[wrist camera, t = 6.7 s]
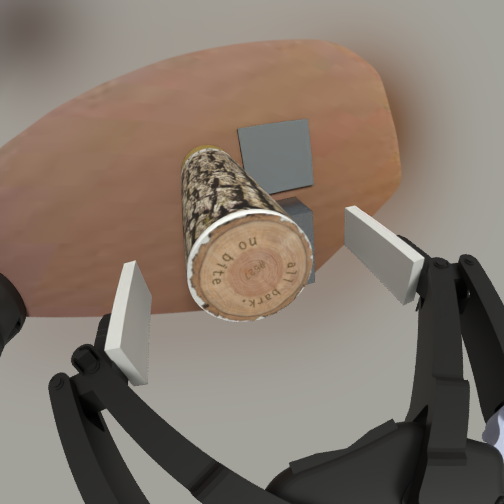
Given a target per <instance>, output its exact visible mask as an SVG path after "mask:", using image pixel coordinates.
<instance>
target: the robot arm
mask: <svg viewBox="0 0 504 504" xmlns="http://www.w3.org/2000/svg"><path fill="white" fill-rule="evenodd" d="M344 245H345V246H346V247H347V248H348V249H349V250H350V251H351V252H352V253H353V254H354V255H355V256H356V257H357V258H358V259H359V260H360V261H361V262H362V263H363V264H364V265H365V266H366V267H367V268H368V269H369V270H370V271H371V272H372V273H373V274H374V275H375V276H376V277H377V278H378V279H379V280H380V281H381V282H382V283H383V284H384V285H385V286H386V287H387V289H389V291H390V292H391V293H392V294H393V295H394V296H395V297H396V298H397V299H398V300H399V301H400V302H401V303H402V304H403V305H405V304H407V303H409V302H411V301H413V300H414V297H415V293H416V292H417V293H418V294H419V295H420V298H419V301H418V304H417V307H416V311H417V310H418V308H419V314H418V340H417V354H416V365H415V375H414V383H413V390H412V397H411V403H410V408H409V411H408V414H407V416H406V418H405V421H404V422H399V423H395V422H394V420H393V419H391V420H389V421H387V422H385V423H384V424H382V425H380V426H378V427H376V428H374V429H372V430H370V431H369V432H367V433H366V434H365V435H364V436H363V437H361V438H360V439H359V440H357V441H356V442H355V443H354V444H352V445H351V446H350V447H348V448H346V449H341V450H336V451H330V452H323V453H317V454H314V455H311V456H308V457H305V458H302V459H299V460H296V461H293V462H290V463H289V465H290V467H289V468H287V469H285V470H284V471H282V472H281V473H280V474H278V475H277V476H276V477H275V478H274V479H273V480H272V481H271V482H270V483H269V485H268V486H267V488H266V489H265V490H264V489H262V488H260V487H258V486H256V485H255V484H253V483H251V482H250V481H248V480H246V479H244V478H243V477H241V476H240V475H238V474H236V473H234V472H233V471H232V470H230V469H228V468H227V467H225V466H224V465H222V464H221V463H219V462H217V461H216V460H214V459H213V458H211V457H210V456H209V455H207V454H206V453H205V452H203V451H202V450H200V449H199V448H198V447H196V446H195V445H194V444H193V443H191V442H190V441H188V440H187V439H186V438H185V437H184V436H182V435H181V434H180V433H179V432H177V431H176V430H175V429H174V428H173V427H171V426H170V425H169V424H168V423H167V422H166V421H165V420H163V419H162V418H161V417H160V416H159V415H158V414H157V413H156V412H154V411H153V410H152V409H151V408H150V407H149V406H148V405H147V404H146V403H145V402H144V401H143V400H142V399H141V398H140V397H139V396H138V395H137V394H136V393H135V392H134V391H133V390H132V389H131V388H130V387H129V386H128V380H129V381H130V383H131V384H132V385H133V386H139V385H145V384H148V351H149V350H148V349H149V328H150V327H149V326H150V312H151V299H152V296H151V294H150V291H149V289H148V287H147V285H146V283H145V280H144V278H143V276H142V274H141V271H140V269H139V267H138V265H137V262H136V261H132V262H128V263H125V264H124V266H123V270H122V274H121V277H120V281H119V285H118V289H117V293H116V297H115V301H114V305H113V310H112V313H110V314H106V315H104V316H103V318H102V319H101V321H100V322H99V326H98V331H97V335H96V339H95V343H94V346H93V345H91V344H84V345H81V346H80V347H79V348H77V349H76V350H75V351H74V353H73V355H72V358H71V362H72V365H73V366H74V367H75V368H76V369H77V371H78V372H79V374H77V375H74V376H72V377H69V376H68V375H67V374H65V373H58V374H56V375H54V376H53V377H52V379H51V380H50V382H49V387H48V390H49V395H50V400H51V405H52V409H53V413H54V418H55V422H56V426H57V429H58V433H59V436H60V440H61V443H62V446H63V449H64V453H65V455H66V458H67V461H68V464H69V467H70V469H71V472H72V475H73V477H74V480H75V482H76V484H77V487H78V489H79V491H80V494H81V496H82V498H83V500H84V502H85V504H150V503H149V502H148V500H147V499H146V497H145V495H144V494H143V492H142V491H141V489H140V488H139V486H138V485H137V483H136V481H135V479H134V478H133V476H132V474H131V473H130V471H129V469H128V468H127V465H126V464H125V462H124V460H123V458H122V456H121V454H120V452H119V450H118V448H117V446H116V444H115V442H114V440H113V438H112V436H111V434H110V432H109V430H108V427H107V425H106V423H105V421H104V418H103V416H102V413H101V411H102V410H104V409H106V408H107V409H108V411H109V412H110V413H111V414H112V416H113V417H114V418H115V419H116V420H117V422H118V423H119V424H120V425H121V426H122V427H123V428H124V430H125V431H126V432H127V433H128V434H129V435H130V436H131V437H132V438H133V439H134V440H135V441H136V442H137V443H138V444H139V446H140V447H141V448H142V449H143V450H144V451H145V452H146V453H147V454H148V455H149V456H150V457H151V458H152V459H153V460H155V461H156V462H157V463H158V464H159V465H160V466H161V467H162V468H163V469H164V470H166V471H167V472H168V473H169V474H170V475H171V476H172V477H173V478H175V479H176V480H177V481H178V482H179V483H181V484H182V485H183V486H184V487H185V488H187V489H188V490H189V491H190V492H191V494H192V495H193V496H194V497H195V498H196V499H197V500H198V501H200V502H201V503H202V504H504V305H503V303H502V301H501V299H500V297H499V295H498V294H497V292H496V290H495V288H494V286H493V285H492V283H491V281H490V279H489V278H488V276H487V274H486V273H485V271H484V269H483V268H482V266H481V265H480V263H479V262H478V260H477V259H476V258H474V257H473V256H471V255H467V254H464V255H461V256H460V258H459V261H458V263H453V264H450V263H449V262H448V261H447V260H445V259H443V258H439V257H435V258H431V257H430V256H429V255H427V254H426V253H425V252H424V251H422V250H421V249H420V248H418V247H416V245H415V244H413V243H412V242H411V241H409V240H408V239H407V238H405V237H402V236H400V235H395V234H393V233H392V232H391V231H389V230H388V229H387V228H385V227H384V226H383V225H381V224H380V223H379V222H377V221H376V220H374V219H373V218H372V217H370V216H369V215H367V214H366V213H365V212H363V211H362V210H360V209H359V208H357V207H356V206H351V207H346V208H345V234H344ZM469 292H470V295H469ZM25 319H26V310H25V306H24V303H23V301H22V298H21V296H20V295H19V293H18V291H17V290H16V289H15V287H14V286H13V285H12V283H11V282H10V281H9V280H8V279H7V278H6V277H4V276H3V275H2V274H1V273H0V356H1V353H2V351H3V349H4V346H5V345H6V344H7V343H8V342H9V341H10V340H11V339H12V338H13V337H14V336H15V335H16V334H17V333H18V332H19V331H20V330H21V328H22V326H23V324H24V322H25ZM461 335H462V337H461ZM462 338H463V341H464V344H465V347H466V350H467V353H468V357H469V361H470V364H471V368H472V372H473V376H474V380H475V383H476V388H477V392H478V397H479V402H480V407H481V411H482V414H483V417H484V420H485V423H486V428H485V431H484V432H483V434H482V439H483V441H485V442H487V443H483V442H479V441H475V440H472V439H468V438H467V431H468V419H469V399H470V385H469V382H468V380H464V379H463V355H462V354H463V353H462Z"/></svg>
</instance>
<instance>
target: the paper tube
mask: <svg viewBox="0 0 504 504" xmlns="http://www.w3.org/2000/svg"><path fill="white" fill-rule="evenodd" d="M181 189H182V215H183V234H184V249H185V262H186V274H187V281H188V286H189V289H190V292H191V294H192V297H193V298H194V300H195V301H196V303H197V304H198V305H199V306H200V307H201V308H202V309H203V310H204V311H206V312H207V313H209V314H210V315H212V316H214V317H217V318H219V319H222V320H227V321H233V322H248V321H255V320H259V319H263V318H266V317H268V316H271V315H273V314H275V313H277V312H279V311H280V310H282V309H283V308H285V307H286V306H287V305H289V304H290V303H291V302H292V301H293V300H294V299H295V298H296V297H297V296H298V295H299V294H300V293H301V291H302V290H303V288H304V287H305V285H306V283H307V281H308V279H309V277H310V274H311V270H312V264H313V254H312V248H311V245H310V242H309V240H308V238H307V236H306V235H305V233H304V232H303V231H302V229H301V228H300V227H299V226H298V225H297V223H296V222H295V221H294V220H293V219H292V218H291V217H290V216H289V215H288V214H287V213H286V212H285V211H284V210H283V209H282V208H281V207H280V206H279V205H278V204H277V203H276V201H275V200H274V199H273V198H272V197H271V196H270V195H269V194H268V193H267V192H266V191H265V190H264V189H263V188H262V187H261V186H260V185H259V184H258V183H257V182H256V181H255V180H254V179H253V178H252V177H251V176H250V175H249V174H248V173H247V172H246V171H245V170H244V169H243V168H242V167H241V166H240V165H239V164H238V163H237V162H236V161H234V160H233V159H232V158H231V157H230V156H229V155H228V154H227V153H226V152H225V151H224V150H222V149H221V148H219V147H217V146H213V145H203V146H199V147H197V148H195V149H193V150H192V151H190V152H189V153H188V154H187V156H186V157H185V159H184V161H183V163H182V168H181Z"/></svg>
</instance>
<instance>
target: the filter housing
mask: <svg viewBox="0 0 504 504" xmlns="http://www.w3.org/2000/svg"><path fill="white" fill-rule="evenodd" d="M276 203H277V204H278V205H279V206H280V207H281V208H282V209H283V210H284V211H285V212H286V213H287V214H288V215H289V216H290V217H291V218H292V219H293V220H294V221H295V222H296V223H297V225H298V226H299V227H300V228H301V229H302V231H303V232H304V233H305V235H306V236H307V238H308V240H309V242H310V245H311V248H312V254H313V264H312V270H311V274H310V277H309V279H308V281H307V283H306V285H307V284H310V283H314V282H315V263H314V233H313V213H312V211H311V210H310V209H309V208H308V207H307V206H306V205H304V204H303V203H302V202H301V201H300V200H299V199H297V198H296V197H291V198H287V199H282V200H278V201H276Z"/></svg>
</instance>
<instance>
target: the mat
mask: <svg viewBox="0 0 504 504" xmlns="http://www.w3.org/2000/svg"><path fill="white" fill-rule="evenodd" d="M237 131H238V137H239V143H240V149H241V155H242V160H243V166H244V170H245V171H246V172H247V173H248V174H249V175H250V176H251V177H252V178H253V179H254V180H255V181H256V182H257V183H258V184H259V185H260V186H261V187H262V188H263V189H264V190H265V191H266V192H267V193H268V194H271V193H275V192H280V191H284V190H289V189H294V188H299V187H304V186H309V185H314V183H313V170H312V158H311V147H310V136H309V127H308V119H302V120H293V121H285V122H277V123H270V124H263V125H257V126H251V127H245V128H240V129H237Z"/></svg>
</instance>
